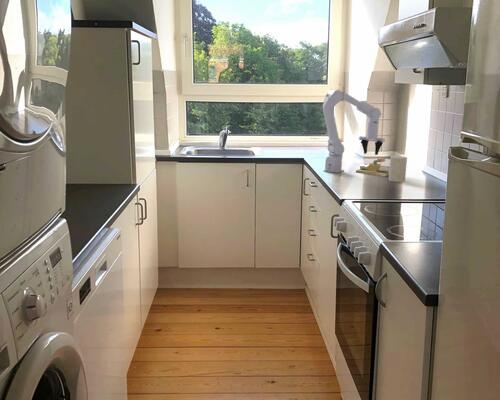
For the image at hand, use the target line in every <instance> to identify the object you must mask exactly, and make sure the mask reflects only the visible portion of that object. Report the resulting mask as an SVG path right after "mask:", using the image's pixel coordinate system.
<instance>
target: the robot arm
mask: <svg viewBox="0 0 500 400" xmlns="http://www.w3.org/2000/svg"><path fill="white" fill-rule="evenodd" d="M341 101H343V102H347V103H349V104H351V105H353V106H354V107H356V110H357V111H358V112H360V113H362V114H365V116H367V117H368V119H367V131H366V133H367V134H366V136H359V137H358V138H359V139H358V140H359V141H360V144H361V146H362V149H363V154H367V153H368V146H369V142H374V146H375V147H374V149H375V151H374V156H378V155H379V151H380V150H381V147H382V146H383V143H385V142H386V138H383V137H379V136H378V135H379V134H378V133H379V122H380V118H381V115H382V113H381V110H380V109H379V108H377V107H375V106H374V105H373V104H369V103H368V101H367V100H358V99H356V98H355V97H354V96H352V95H349V94H348V93H346V92H343V91H341V90H339V89H329V90H328V91H327V92H326V93H325V94H324V100H323V104H322V112H323V117H324V122H325V126H326V130H327V135H328V140H327V144H328V145H327V151H328V156H327V157H326V158H325V164H324V165H325V166H324V170H323V172H326V173H327V172H328V173H334V172H335V173H334V174H336V173H341V172H344V171H345V170H344V169H342V165H343V163H342V162H343V161H342V160H343V159H342V158H343V154H344V152H345V146H344V145H343V144H342V141H341V139H340V137H339V132H338V128H337V122H336V118H335V113H334V108H335V107H336V106H337V104H339V103H340V102H341Z"/></svg>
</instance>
